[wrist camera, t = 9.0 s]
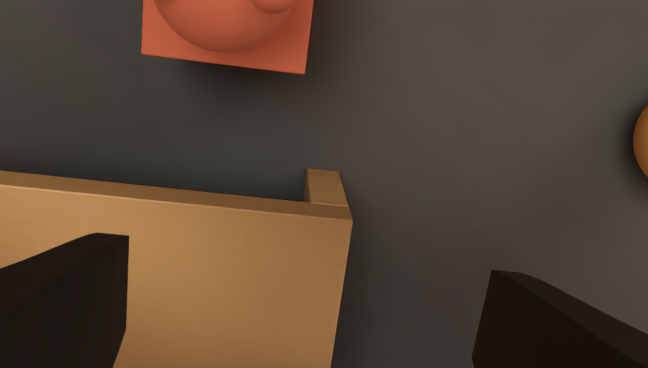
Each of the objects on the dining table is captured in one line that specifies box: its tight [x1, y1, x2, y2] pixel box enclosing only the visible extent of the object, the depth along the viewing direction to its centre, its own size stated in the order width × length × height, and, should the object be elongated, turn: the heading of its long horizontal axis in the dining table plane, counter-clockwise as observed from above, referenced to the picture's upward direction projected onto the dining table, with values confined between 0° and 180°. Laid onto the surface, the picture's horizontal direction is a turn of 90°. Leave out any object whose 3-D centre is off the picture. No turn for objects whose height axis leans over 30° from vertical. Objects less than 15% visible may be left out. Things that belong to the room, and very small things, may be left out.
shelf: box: [0, 168, 353, 368], centre depth 20 cm, size 12×18×6 cm, turn 83°
